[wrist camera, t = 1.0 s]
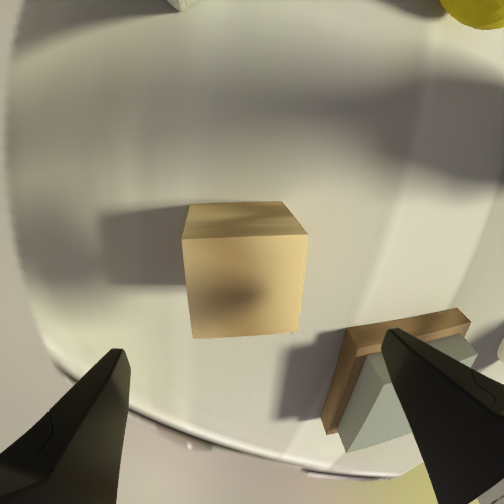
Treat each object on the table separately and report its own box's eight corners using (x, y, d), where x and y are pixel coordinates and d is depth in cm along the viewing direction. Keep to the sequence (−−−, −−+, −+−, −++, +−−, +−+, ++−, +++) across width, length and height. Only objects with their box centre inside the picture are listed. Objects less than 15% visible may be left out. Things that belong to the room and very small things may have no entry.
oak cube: (281, 201, 16) (308, 234, 12) (277, 280, 19) (297, 331, 14) (190, 203, 16) (181, 239, 11) (196, 284, 18) (193, 338, 13)
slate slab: (459, 332, 21) (478, 353, 18) (420, 404, 25) (432, 424, 22) (366, 355, 19) (383, 384, 17) (336, 428, 23) (346, 453, 21)
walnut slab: (453, 303, 23) (471, 321, 20) (413, 388, 28) (425, 406, 25) (343, 322, 22) (358, 348, 19) (318, 412, 27) (326, 435, 24)
